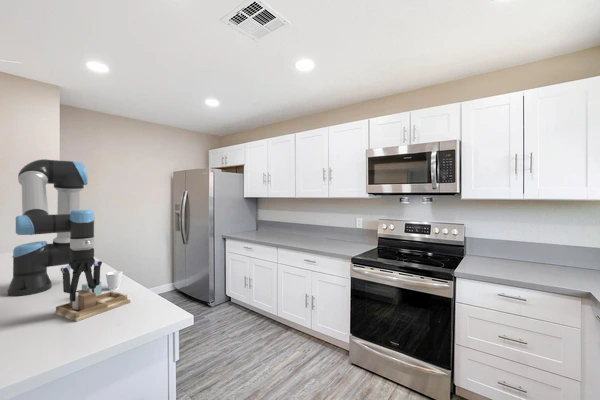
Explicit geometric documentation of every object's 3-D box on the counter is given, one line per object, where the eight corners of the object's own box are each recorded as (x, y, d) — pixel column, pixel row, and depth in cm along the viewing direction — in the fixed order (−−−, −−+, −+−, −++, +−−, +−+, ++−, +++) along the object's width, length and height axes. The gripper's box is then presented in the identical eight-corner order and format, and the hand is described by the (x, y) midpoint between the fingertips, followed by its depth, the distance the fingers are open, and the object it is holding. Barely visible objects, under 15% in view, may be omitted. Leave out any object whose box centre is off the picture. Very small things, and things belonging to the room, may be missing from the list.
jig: (55, 314, 105) (55, 306, 105) (109, 297, 123) (109, 290, 123) (76, 321, 99) (76, 313, 99) (130, 302, 117) (130, 295, 117)
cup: (106, 292, 130) (106, 275, 129) (104, 286, 137) (104, 271, 137) (123, 289, 134) (123, 273, 134) (120, 284, 142) (120, 268, 142)
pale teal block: (81, 297, 123) (81, 284, 123) (96, 293, 128) (96, 280, 128) (86, 298, 121) (87, 285, 121) (101, 294, 127) (101, 281, 127)
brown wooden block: (69, 307, 107) (69, 292, 107) (81, 304, 111) (81, 289, 111) (84, 311, 103) (84, 296, 103) (95, 308, 107) (95, 293, 107)
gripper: (61, 253, 97) (61, 317, 98) (110, 245, 113) (110, 300, 113) (50, 251, 101) (50, 313, 101) (100, 244, 116) (100, 297, 116)
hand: (82, 306), depth 107 cm, fingers closed on brown wooden block, 4 cm apart
